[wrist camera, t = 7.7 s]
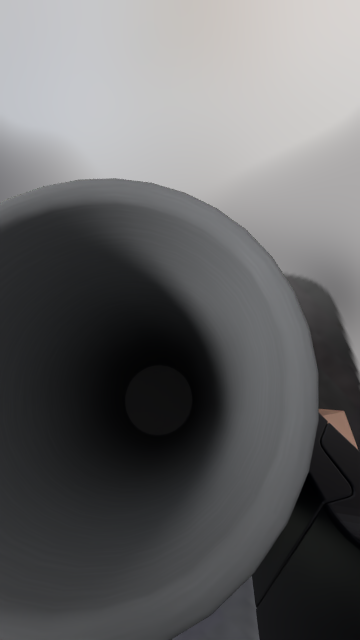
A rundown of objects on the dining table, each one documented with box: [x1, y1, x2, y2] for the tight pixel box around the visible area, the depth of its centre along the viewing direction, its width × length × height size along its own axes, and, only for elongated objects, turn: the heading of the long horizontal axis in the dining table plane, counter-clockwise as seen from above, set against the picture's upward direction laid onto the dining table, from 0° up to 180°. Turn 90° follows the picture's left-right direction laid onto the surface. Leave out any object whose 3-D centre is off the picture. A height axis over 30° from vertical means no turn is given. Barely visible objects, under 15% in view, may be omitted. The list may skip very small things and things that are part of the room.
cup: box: [0, 179, 319, 640], centre depth 11 cm, size 7×7×15 cm
